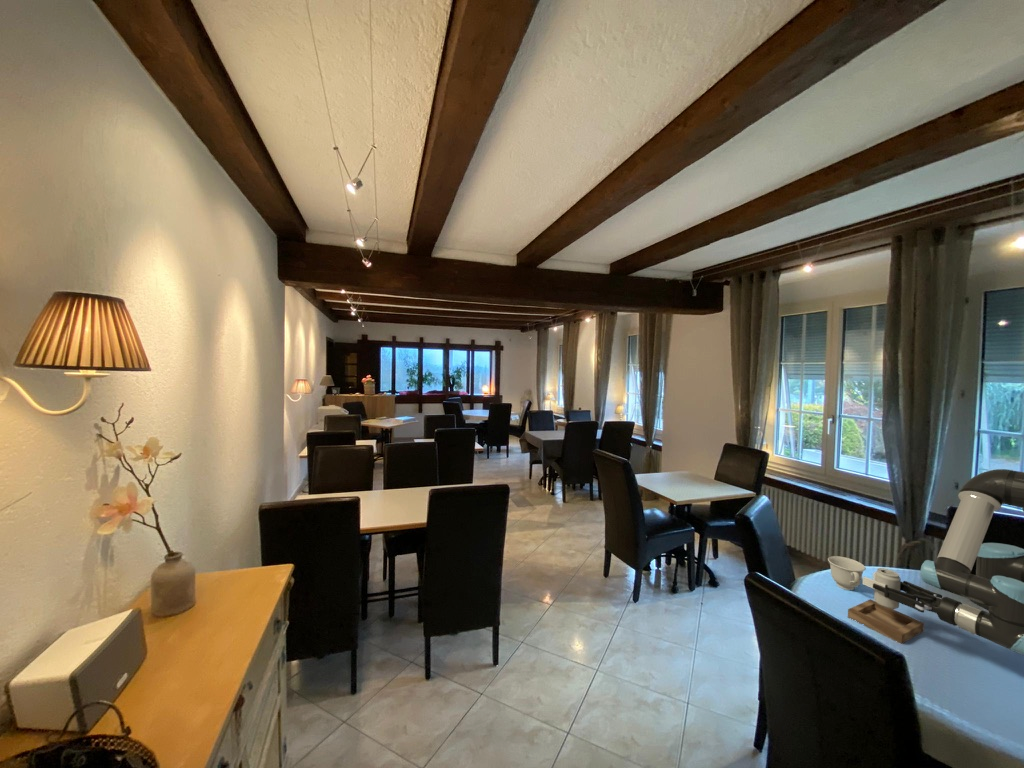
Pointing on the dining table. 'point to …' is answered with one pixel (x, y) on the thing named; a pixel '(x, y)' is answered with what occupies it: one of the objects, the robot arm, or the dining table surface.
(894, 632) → the tray
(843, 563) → the teacup
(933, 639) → the dining table surface
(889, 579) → the beverage can
